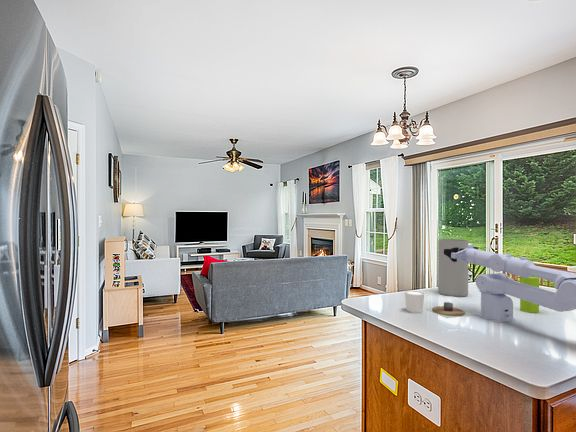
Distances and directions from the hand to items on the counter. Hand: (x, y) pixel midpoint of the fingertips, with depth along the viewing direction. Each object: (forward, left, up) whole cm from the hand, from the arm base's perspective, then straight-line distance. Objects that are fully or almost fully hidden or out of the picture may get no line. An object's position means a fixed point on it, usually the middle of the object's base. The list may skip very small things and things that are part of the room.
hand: (452, 251), depth 138 cm
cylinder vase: (+15, -14, -22) cm, 30 cm away
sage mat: (-10, +11, -22) cm, 26 cm away
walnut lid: (-10, +11, -21) cm, 26 cm away
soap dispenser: (-16, -22, -22) cm, 35 cm away
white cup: (-5, +22, -22) cm, 31 cm away
